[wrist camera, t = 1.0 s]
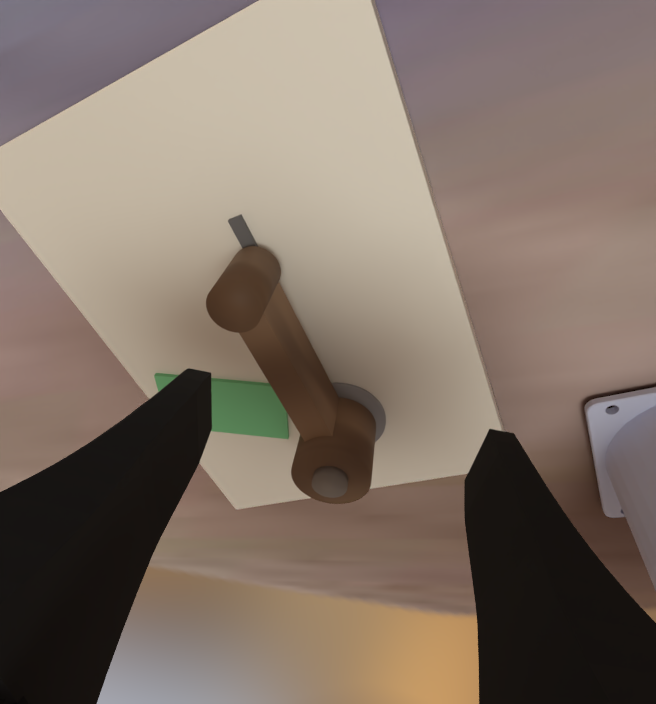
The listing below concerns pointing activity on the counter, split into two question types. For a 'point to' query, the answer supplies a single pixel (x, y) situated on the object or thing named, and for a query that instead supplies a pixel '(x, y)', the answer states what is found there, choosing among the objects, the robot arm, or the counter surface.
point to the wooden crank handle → (296, 379)
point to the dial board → (264, 236)
